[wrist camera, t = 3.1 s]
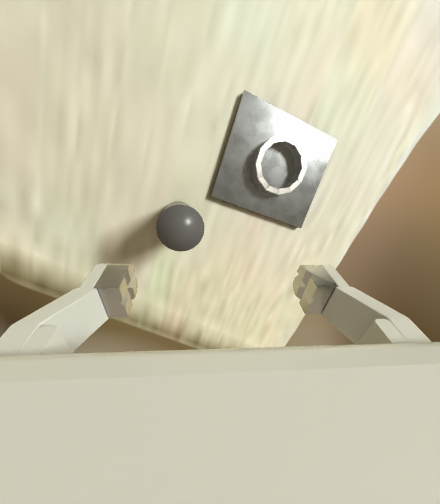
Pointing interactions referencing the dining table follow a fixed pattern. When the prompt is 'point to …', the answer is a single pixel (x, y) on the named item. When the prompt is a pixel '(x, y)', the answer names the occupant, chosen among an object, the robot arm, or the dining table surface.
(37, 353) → the robot arm
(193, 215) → the grey peg
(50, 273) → the dining table surface
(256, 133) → the mount plate
